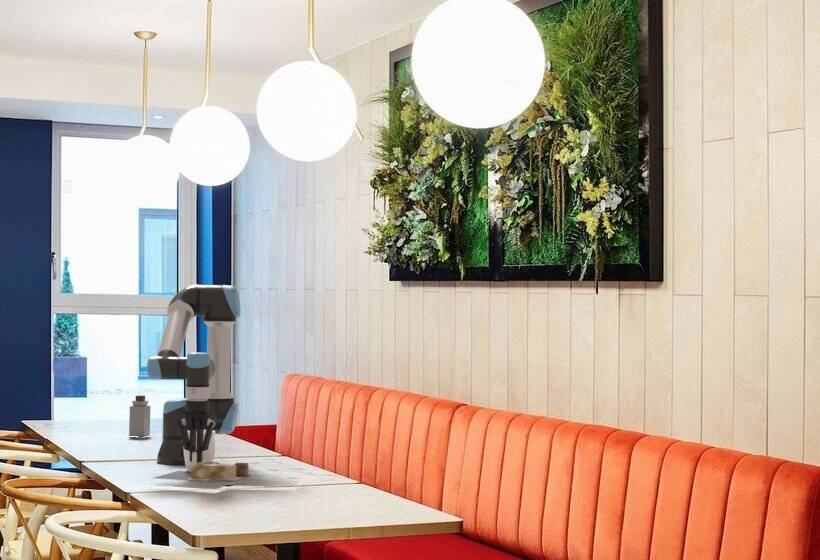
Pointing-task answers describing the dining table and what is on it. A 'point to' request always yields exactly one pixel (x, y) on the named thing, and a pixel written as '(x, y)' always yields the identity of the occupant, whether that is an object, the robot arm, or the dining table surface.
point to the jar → (207, 454)
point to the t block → (213, 471)
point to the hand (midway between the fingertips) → (195, 472)
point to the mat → (187, 476)
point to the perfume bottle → (139, 417)
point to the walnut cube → (241, 469)
